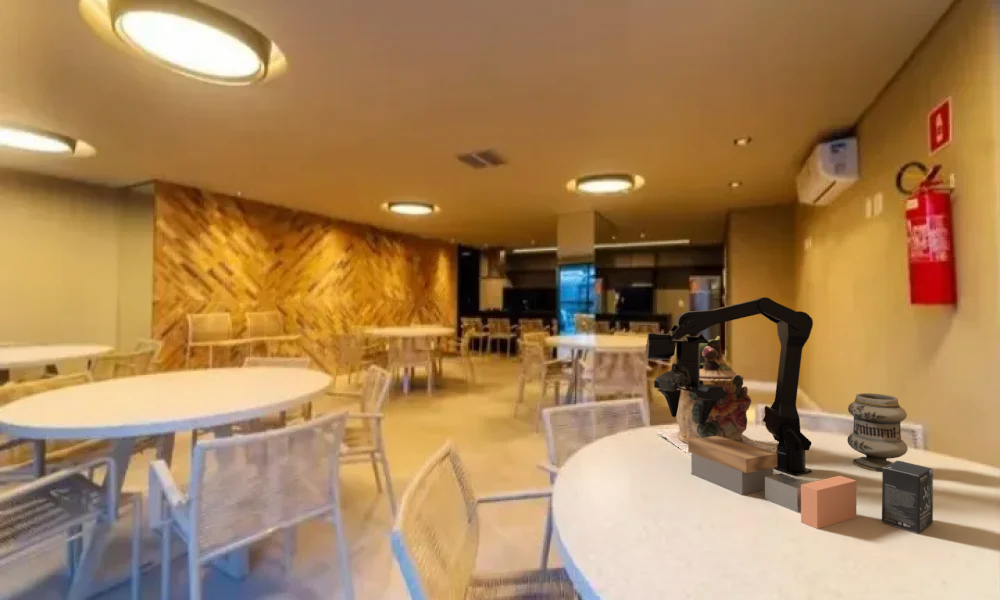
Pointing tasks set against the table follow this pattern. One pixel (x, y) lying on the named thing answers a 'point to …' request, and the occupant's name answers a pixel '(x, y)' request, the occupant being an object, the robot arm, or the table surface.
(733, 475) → the plinth
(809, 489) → the end stop
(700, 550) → the table surface
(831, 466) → the table surface
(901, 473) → the box
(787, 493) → the support block
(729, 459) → the slab
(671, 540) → the table surface
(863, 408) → the apothecary jar
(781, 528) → the table surface
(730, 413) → the cookie jar
